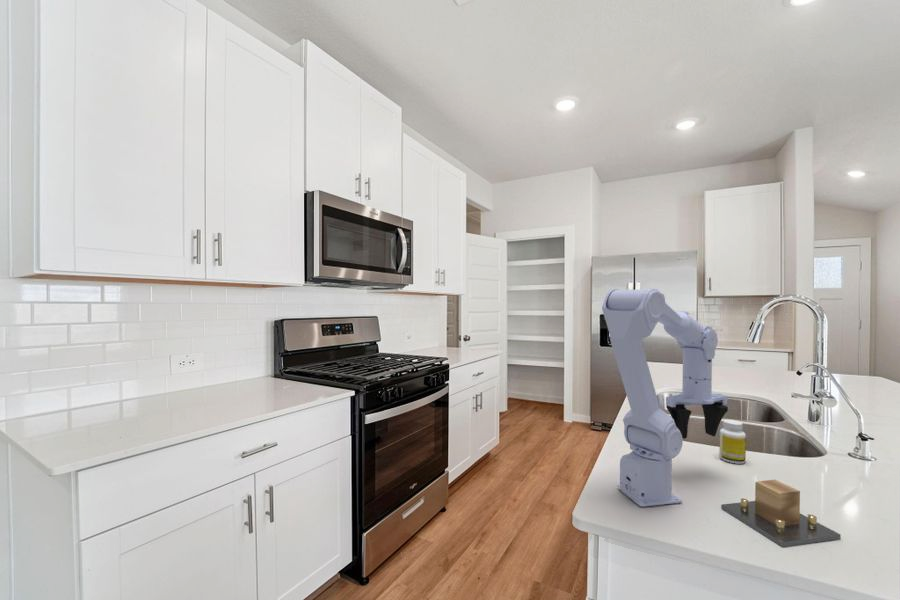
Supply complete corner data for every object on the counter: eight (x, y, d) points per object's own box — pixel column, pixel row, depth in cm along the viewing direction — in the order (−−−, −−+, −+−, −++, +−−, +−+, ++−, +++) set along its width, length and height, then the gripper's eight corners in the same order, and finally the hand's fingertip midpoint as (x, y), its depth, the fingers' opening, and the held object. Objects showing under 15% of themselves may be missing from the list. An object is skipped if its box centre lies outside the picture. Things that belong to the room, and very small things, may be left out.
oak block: (779, 526, 70) (779, 493, 70) (755, 513, 75) (755, 481, 75) (799, 524, 71) (800, 491, 71) (774, 510, 76) (774, 479, 76)
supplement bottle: (750, 465, 97) (750, 426, 97) (725, 463, 98) (725, 424, 98) (738, 456, 103) (739, 419, 102) (715, 455, 104) (715, 417, 103)
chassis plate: (782, 547, 66) (782, 530, 66) (721, 508, 78) (721, 494, 78) (840, 539, 68) (840, 523, 68) (772, 502, 80) (772, 489, 80)
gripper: (682, 382, 86) (681, 444, 86) (739, 379, 89) (738, 439, 89) (659, 375, 93) (659, 433, 93) (713, 373, 96) (712, 429, 96)
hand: (696, 435), depth 92 cm, fingers open, 7 cm apart
